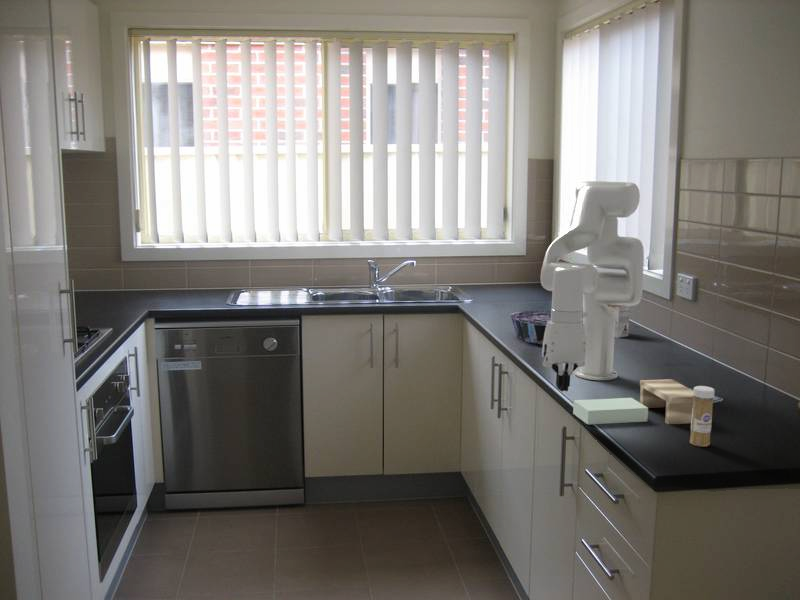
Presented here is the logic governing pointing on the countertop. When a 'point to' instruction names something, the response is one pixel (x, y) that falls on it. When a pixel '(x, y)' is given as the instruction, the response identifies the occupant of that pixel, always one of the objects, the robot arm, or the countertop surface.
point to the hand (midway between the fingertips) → (562, 389)
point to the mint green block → (610, 411)
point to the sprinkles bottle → (701, 416)
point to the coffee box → (621, 319)
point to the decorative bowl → (531, 325)
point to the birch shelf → (668, 399)
